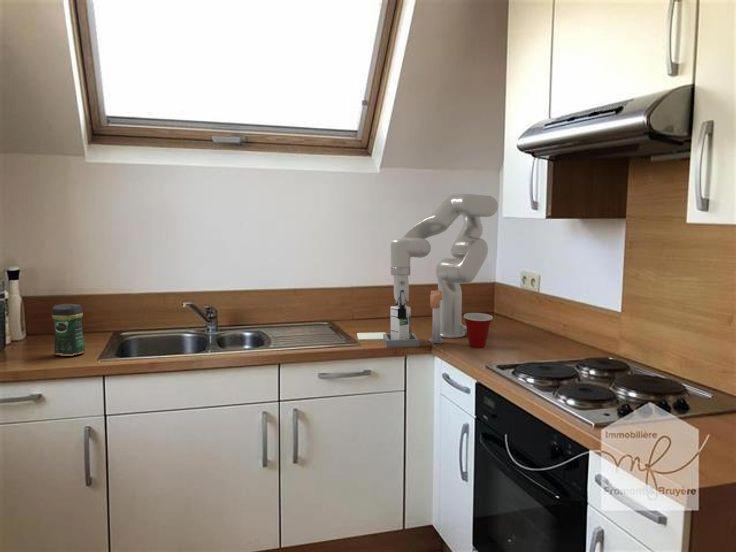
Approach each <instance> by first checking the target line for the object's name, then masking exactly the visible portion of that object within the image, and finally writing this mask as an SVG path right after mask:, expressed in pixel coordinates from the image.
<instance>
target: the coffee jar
mask: <svg viewBox="0 0 736 552" xmlns="http://www.w3.org/2000/svg"><path fill="white" fill-rule="evenodd" d="M51 311H52V312H51V318H52V321H53V326H54V354H55V353H63V354H73V353H79V352H82V351H85V352H86V345H85V340H84V333H83V325H82V324H83V323H82V322H83V321H82V319H83V315H84V313H83V309H82V306H81V304H76V303H62V304H54V305H53V306H52V309H51Z"/></svg>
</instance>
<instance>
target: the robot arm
mask: <svg viewBox="0 0 736 552" xmlns="http://www.w3.org/2000/svg"><path fill="white" fill-rule="evenodd" d="M498 209H499V203H498V201H497V199H496V198H495V197H494V196H491V195H485V194H484V195H483V194H475V193H474V194H472V193H455V194H450V195H448V196H447V197H446V198H445V199H444V201H442V202H441V203H440V205H439V206H438V207H437V208H436V209H435V210H434V211H433V212H432V213H431V215H430V216H428V217H427V218H425V219H422V220H421V221H420V222H418V223H416V224H415V225H413V226H411V228H409V229H408V230H407V231H406V232H405V233H404V235H403V236H402V237H400V238H395V239H392V240H391V242H390V276H393V297H394V300H395V303H394V304H395V305H394V306H398V319H406V306H407V303H406V302H409V301H410V287H409V286H410V285H409V284H410V283H409V281H410V280H409V276H411V258H418V259H419V258H426V257H427V256H428V255H429V254H430V252H431V250H432V248H431V246H432V245H431V244H430V242H429V240H427V239H428V238H430V237H434V236H437V235H440V234H442V233H444V232H446V231H447V230H448V229H449V227H450V226H451V225H452V224H453V223H454V222H455V221H456V219H458V218H459V216H462V218H463V225H462V227H461V229H460V231H459V233H458V234H457V236H456V238H455V240H454V242H453V244H452V245H451V248H450V253H451V255H452V257H453V258H452V257H449V258H448V257H446V258H442V259H441V260H439V262H437V265H436V267H435V274H436V280H437V288H438V289H437V290H439V291H442V300H440V301H441V304H440V338H448V339H449V338H450V339H451V338H452V339H455V338H462V337H465V336H466V331H467V327H466V324H465V325H464V324H463V323H462V314H463V313H462V307H463V306H462V303H463V300H462V298H463V297H462V296H463V293H462V287H461V285H460V284H469V283H471V282H472V281H474V279H475V278H476V276H477V275H478V273H479V272H480V270H481V268H482V267H483V264H484V263H485V260H486V258H487V256H488V252H489V247H488V243H487V242H486V240H485V239H483V238H482V235H483V230H484V229H483V223H482V221H481V218H490V217H493V216H495V215H496V214H497V212H498Z"/></svg>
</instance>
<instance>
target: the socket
mask: <svg viewBox="0 0 736 552" xmlns="http://www.w3.org/2000/svg"><path fill="white" fill-rule="evenodd" d="M440 304H441V301H440ZM382 341H383V343H384V345H385V347H386V348H403V347H404V348H406V347H412V348H413V347H420V339H419V338H418V337H417V335H416V333H413V332H411V339H404V340H391V333H386V334H383V340H382ZM428 342H429V343H430V344H431V345H435V344H434V343H444V344H445V341H444V339H443V337H440V308H437V309H434V308H432V337H431V338H428Z"/></svg>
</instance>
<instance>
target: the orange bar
mask: <svg viewBox="0 0 736 552" xmlns="http://www.w3.org/2000/svg"><path fill="white" fill-rule="evenodd" d="M429 296H430V297H429V299H430V300H429V301H430V304H429V305H430V307H429V308H430V309H433V308H434V309H437V308H440V300H442V291H439V290H438V289H436V290H433V289H432V290H430V295H429Z"/></svg>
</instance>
